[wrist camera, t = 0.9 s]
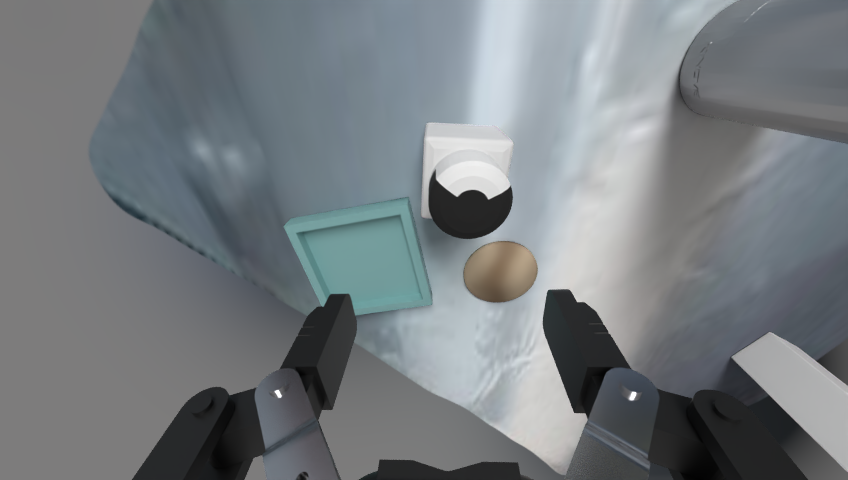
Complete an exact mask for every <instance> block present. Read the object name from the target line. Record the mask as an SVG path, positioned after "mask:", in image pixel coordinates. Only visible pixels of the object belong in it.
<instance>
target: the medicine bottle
mask: <svg viewBox="0 0 848 480" xmlns="http://www.w3.org/2000/svg"><path fill="white" fill-rule="evenodd" d="M513 147H514V143H513V141H512V140H511V139H510V138H509V137H508V136H507V135H506V134H505V133H504V132H503V131H502V130H501V129H500V128H498V127H497V126H489V125H469V124H450V123H427V124H426V127H425V136H424V153H423V176H422V199H421V216H422V217H423V218H430V219H433V221H434V222H435V224H436V225H437V226H438V227H439V228H440V229H441V230H442V231H444V232H445V233H447V234H449V235H451V236H454V237H457V238H463V239H473V238H479V237H482V236H485V235H487V234H489V233H491V232H493V231H494V230H496V229H497V228H498V227H499V226H500V225H501V224H502V223H503V222H504V221H505V219H506V218H507V216H508V214H509V212H510V210H511V206H512V200H513V194H512V188H511V185H510V183H509V181H508V174H509V169H510V163H511V158H512V152H513Z"/></svg>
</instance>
